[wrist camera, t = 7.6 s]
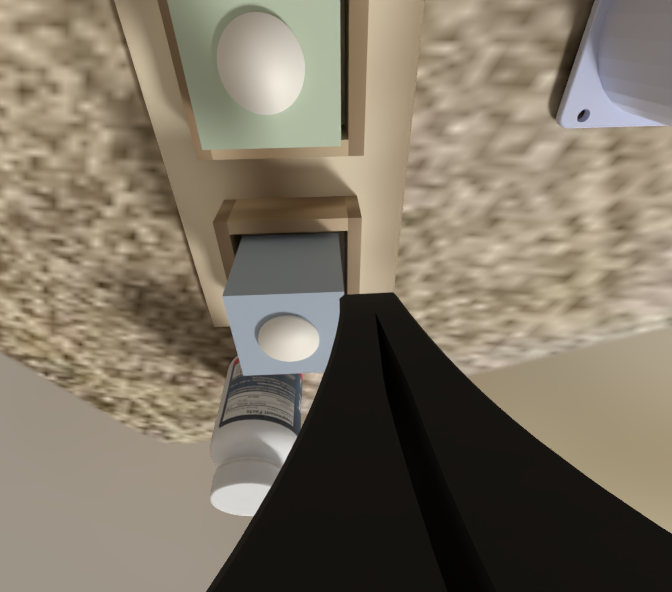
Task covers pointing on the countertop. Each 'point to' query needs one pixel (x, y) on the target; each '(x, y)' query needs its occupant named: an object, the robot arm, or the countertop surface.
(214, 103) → the sage block
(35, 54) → the countertop surface
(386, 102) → the birch board
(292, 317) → the slate-blue block
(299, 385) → the pill bottle
